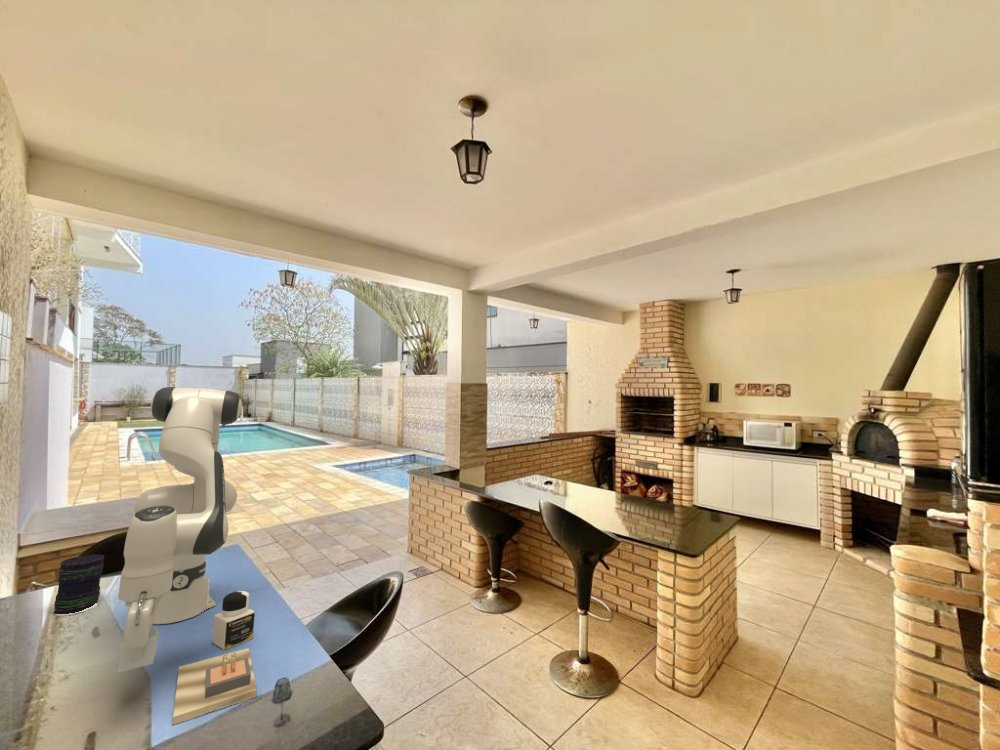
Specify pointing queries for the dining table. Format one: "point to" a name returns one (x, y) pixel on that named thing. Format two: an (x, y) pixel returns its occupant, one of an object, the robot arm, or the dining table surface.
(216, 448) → the robot arm
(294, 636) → the dining table surface
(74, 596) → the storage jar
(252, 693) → the board
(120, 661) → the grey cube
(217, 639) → the medicine bottle
